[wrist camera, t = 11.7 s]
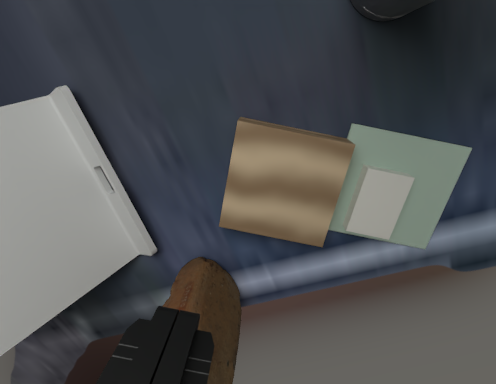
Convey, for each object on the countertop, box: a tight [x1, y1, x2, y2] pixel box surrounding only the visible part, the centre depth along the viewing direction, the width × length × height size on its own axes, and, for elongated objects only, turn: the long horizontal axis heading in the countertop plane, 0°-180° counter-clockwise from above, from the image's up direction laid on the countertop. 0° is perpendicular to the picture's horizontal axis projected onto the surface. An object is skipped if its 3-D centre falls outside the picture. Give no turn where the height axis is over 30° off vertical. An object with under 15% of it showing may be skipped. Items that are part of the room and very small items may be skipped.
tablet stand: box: [0, 85, 157, 356], centre depth 36 cm, size 18×25×17 cm
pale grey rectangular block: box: [343, 164, 415, 240], centre depth 40 cm, size 9×6×2 cm, turn 169°
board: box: [219, 117, 355, 247], centre depth 39 cm, size 14×14×4 cm
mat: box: [328, 123, 472, 249], centre depth 40 cm, size 15×16×1 cm
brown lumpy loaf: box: [163, 257, 241, 384], centre depth 38 cm, size 11×8×20 cm
